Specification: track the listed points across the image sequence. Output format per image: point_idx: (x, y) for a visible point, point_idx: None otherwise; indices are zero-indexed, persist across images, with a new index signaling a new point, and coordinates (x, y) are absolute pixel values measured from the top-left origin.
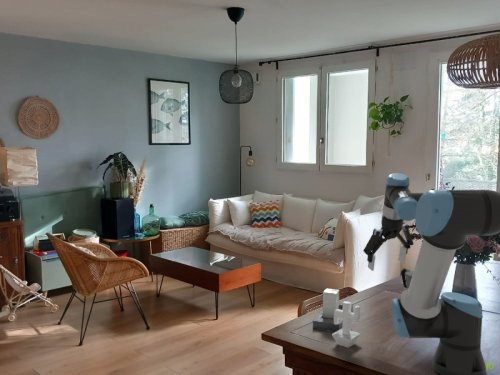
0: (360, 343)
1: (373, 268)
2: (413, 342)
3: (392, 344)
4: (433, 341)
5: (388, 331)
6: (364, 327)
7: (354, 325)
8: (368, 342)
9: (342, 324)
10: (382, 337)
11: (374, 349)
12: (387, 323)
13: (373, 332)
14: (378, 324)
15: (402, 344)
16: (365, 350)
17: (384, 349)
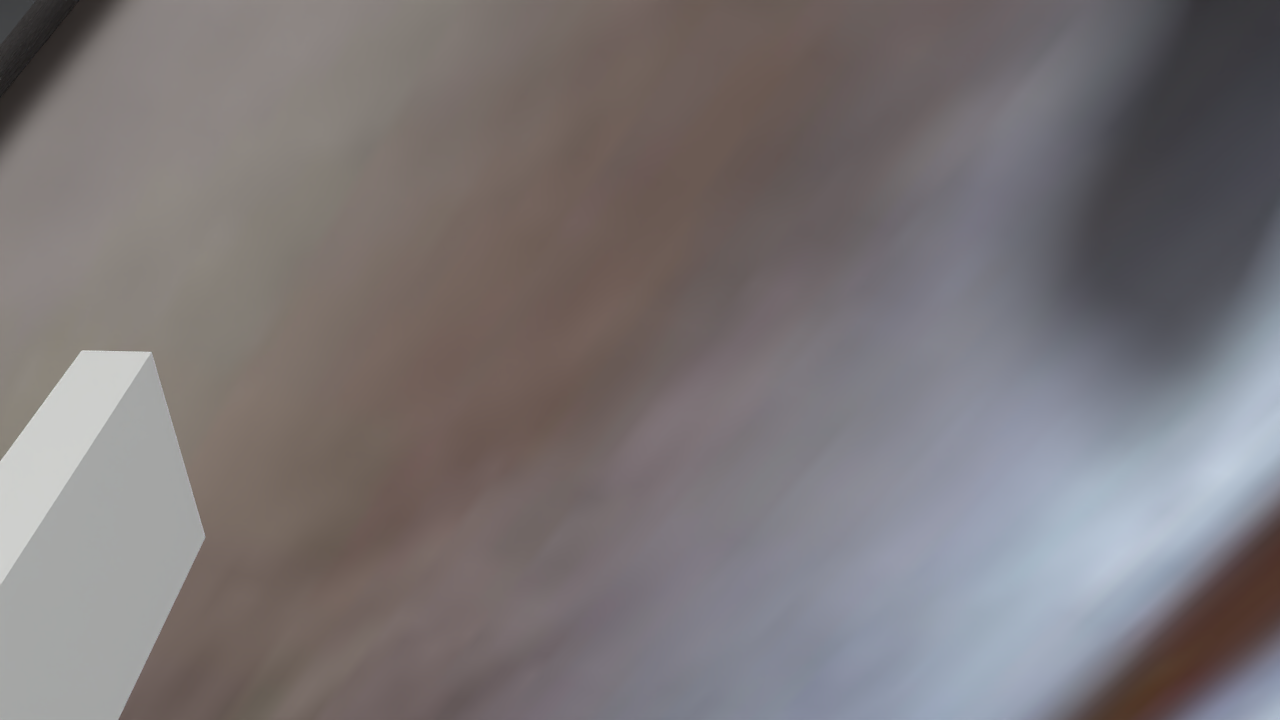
0: None
1: (165, 591)
2: (616, 662)
3: (381, 644)
4: (818, 694)
5: (542, 351)
6: (326, 150)
7: (229, 44)
8: None
9: (11, 62)
10: (378, 471)
11: (134, 690)
12: (683, 132)
13: (353, 321)
14: (554, 122)
15: (480, 670)
16: None
17: (235, 715)
